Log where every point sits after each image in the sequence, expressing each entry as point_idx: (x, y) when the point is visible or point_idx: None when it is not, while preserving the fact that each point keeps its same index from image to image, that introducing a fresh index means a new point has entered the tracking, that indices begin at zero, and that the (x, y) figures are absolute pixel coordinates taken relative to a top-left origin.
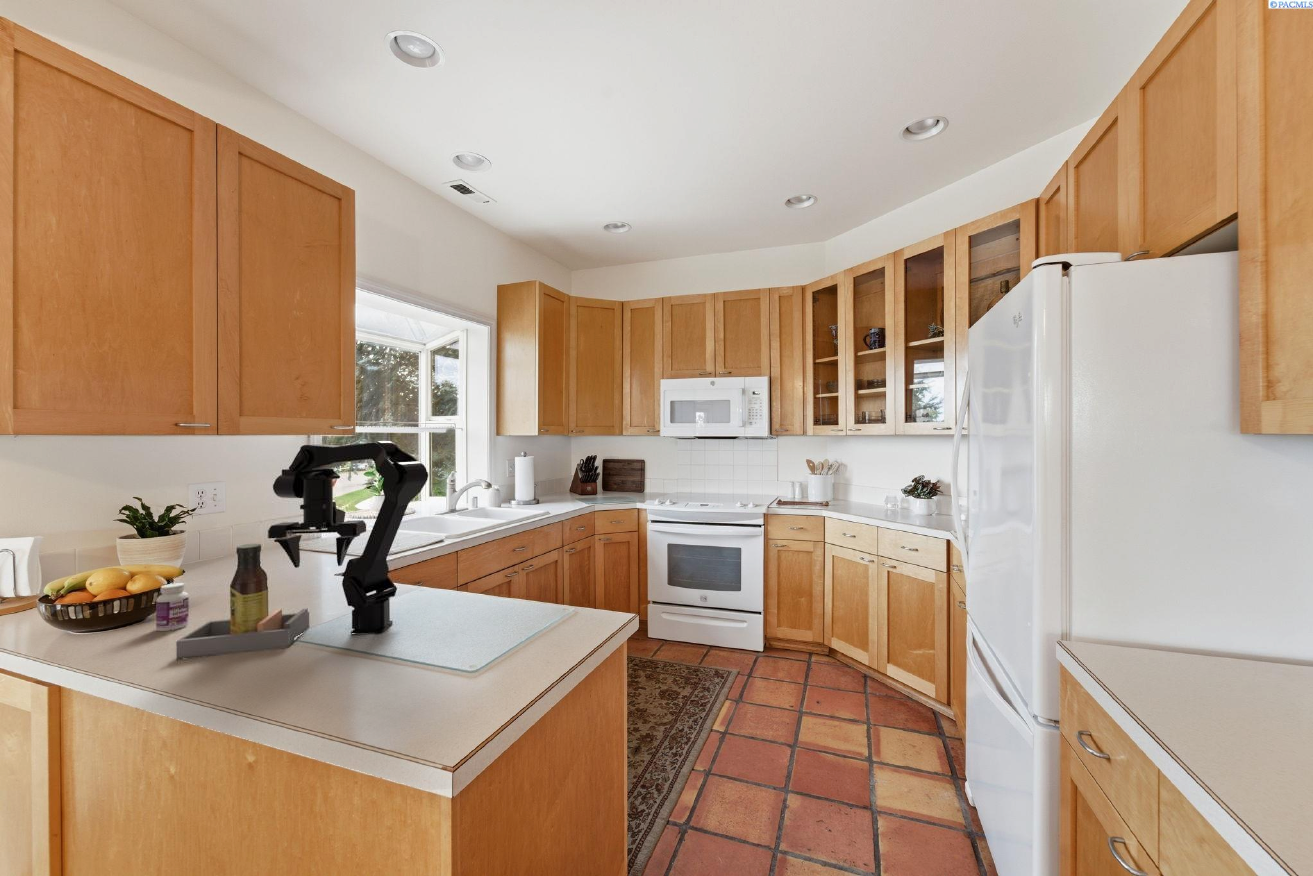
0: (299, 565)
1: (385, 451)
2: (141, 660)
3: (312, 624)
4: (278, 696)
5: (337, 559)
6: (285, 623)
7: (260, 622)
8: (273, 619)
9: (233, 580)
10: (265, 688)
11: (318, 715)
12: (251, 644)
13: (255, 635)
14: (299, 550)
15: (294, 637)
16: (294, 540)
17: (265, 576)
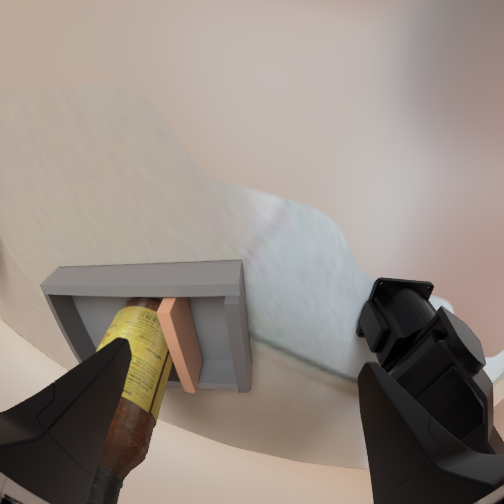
0: (125, 342)
1: None
2: (55, 337)
3: (239, 236)
4: (301, 448)
5: (364, 420)
6: (238, 389)
7: (185, 388)
8: (185, 349)
9: None
10: (281, 440)
11: (341, 460)
12: None
13: None
14: (74, 400)
15: (249, 347)
16: (56, 485)
17: (142, 450)
